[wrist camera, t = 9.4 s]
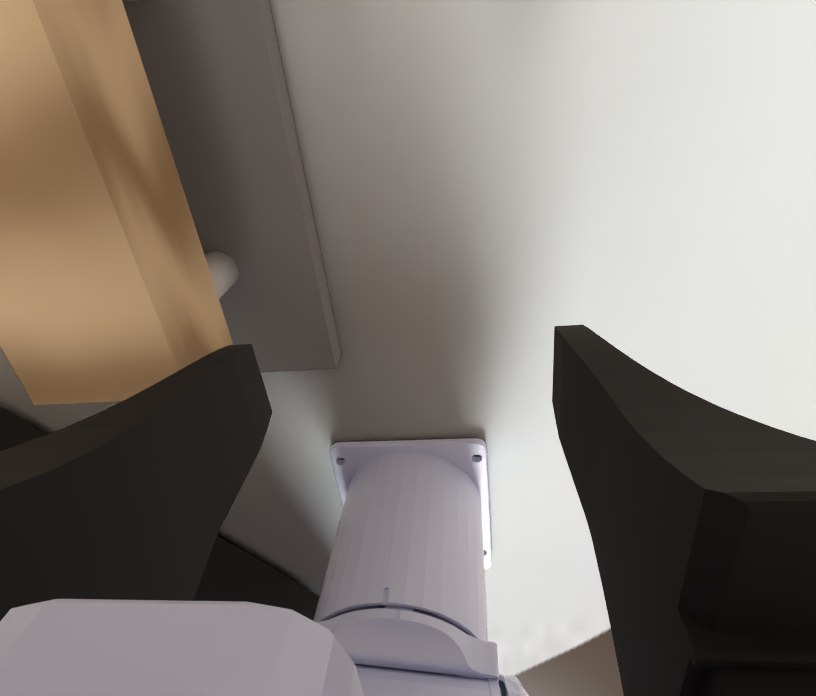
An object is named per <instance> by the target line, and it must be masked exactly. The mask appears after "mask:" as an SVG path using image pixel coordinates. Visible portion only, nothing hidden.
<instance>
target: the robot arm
mask: <svg viewBox="0 0 816 696" xmlns="http://www.w3.org/2000/svg"><path fill="white" fill-rule="evenodd" d="M552 402H553V408H554V413H555V419H556V424H557V429H558V434H559V439H560V442H561V445H562V448H563V451H564V454H565V457H566V460H567V463H568V466H569V469H570V472H571V475H572V478H573V481H574V484H575V486H576V489H577V492H578V495H579V498H580V501H581V504H582V507H583V510H584V513H585V516H586V519H587V522H588V526H589V529H590V533H591V536H592V541H593V545H594V550H595V554H596V559H597V563H598V568H599V572H600V577H601V581H602V586H603V591H604V596H605V601H606V606H607V611H608V615H609V620H610V625H611V630H612V635H613V640H614V646H615V651H616V656H617V661H618V666H619V672H620V677H621V682H622V688H623V693H624V696H816V441H814V440H810V439H807V438H804V437H800V436H797V435H794V434H791V433H788V432H785V431H782V430H779V429H776V428H773V427H770V426H767V425H765V424H762V423H759V422H757V421H754V420H751V419H749V418H746V417H744V416H741V415H738V414H736V413H733V412H731V411H728V410H726V409H724V408H721V407H719V406H717V405H715V404H712V403H710V402H708V401H706V400H704V399H702V398H700V397H698V396H696V395H693V394H691V393H689V392H687V391H685V390H683V389H681V388H680V387H678V386H676V385H674V384H672V383H670V382H669V381H667V380H665V379H664V378H662V377H660V376H658V375H657V374H655V373H653V372H652V371H650V370H648V369H647V368H645V367H644V366H642V365H640V364H639V363H637V362H636V361H634V360H633V359H631V358H630V357H628V356H627V355H625V354H624V353H622V352H621V351H620V350H618V349H617V348H615V347H614V346H612V345H611V344H610V343H608V342H607V341H606V340H604V339H603V338H601V337H600V336H599V335H597V334H596V333H594V332H593V331H592V330H590V329H589V328H587V327H586V326H584V325H571V326H555V332H554V364H553V396H552ZM271 414H272V410H271V406H270V403H269V400H268V396H267V393H266V390H265V386H264V383H263V380H262V376H261V373H260V370H259V366H258V363H257V360H256V356H255V353H254V350H253V346H252V344H242V345H228V346H225V347H223V348H220V349H218V350H216V351H214V352H212V353H210V354H208V355H206V356H204V357H202V358H200V359H199V360H197V361H195V362H193V363H191V364H190V365H188V366H186V367H184V368H182V369H181V370H179V371H177V372H175V373H174V374H172V375H170V376H168V377H167V378H165V379H163V380H161V381H159V382H158V383H156V384H154V385H152V386H150V387H148V388H146V389H145V390H143V391H141V392H139V393H137V394H135V395H133V396H131V397H129V398H128V399H126V400H124V401H122V402H120V403H118V404H116V405H114V406H112V407H110V408H108V409H106V410H104V411H102V412H99V413H97V414H95V415H93V416H91V417H88V418H86V419H84V420H82V421H79V422H77V423H75V424H72V425H70V426H68V427H65V428H63V429H60V430H58V431H55V432H52V433H50V434H47V435H44V436H42V437H39V438H36V439H34V440H31V441H28V442H26V443H23V444H20V445H17V446H15V447H12V448H9V449H6V450H3V451H0V696H529V695H528V694H527V692H526V691H525V690H524V689H523V687H522V685H521V683H520V681H519V680H518V679H517V678H516V677H515V676H511V675H499V673H498V657H497V644H496V643H494V642H490V641H488V634H487V613H486V591H485V569H488V568H490V567H491V566H492V553H491V532H490V512H489V491H488V471H487V450H486V443H485V442H484V441H483V440H481V439H477V438H469V439H434V440H400V441H366V442H338V443H335V444H333V445H332V447H331V449H330V456H331V460H332V464H333V468H334V473H335V477H336V481H337V485H338V489H339V493H340V497H341V501H342V505H343V511H342V515H341V519H340V522H339V526H338V530H337V534H336V537H335V541H334V545H333V549H332V552H331V556H330V560H329V564H328V568H327V571H326V575H325V579H324V583H323V586H322V590H321V594H320V598H319V601H318V605H317V609H316V613H315V617H314V620H313V621H312V620H310V619H309V618H307V617H305V616H303V615H301V614H299V613H297V612H296V611H294V610H291V609H285V608H280V607H274V606H269V605H263V604H258V603H252V602H233V601H194V598H195V595H196V592H197V589H198V586H199V583H200V580H201V577H202V574H203V572H204V569H205V566H206V564H207V561H208V558H209V556H210V553H211V550H212V548H213V545H214V542H215V540H216V537H217V535H218V533H219V531H220V528H221V526H222V524H223V522H224V520H225V518H226V516H227V514H228V512H229V510H230V508H231V506H232V504H233V502H234V500H235V498H236V496H237V494H238V492H239V490H240V488H241V486H242V484H243V482H244V480H245V478H246V476H247V474H248V472H249V470H250V468H251V466H252V464H253V462H254V460H255V458H256V456H257V454H258V452H259V450H260V448H261V446H262V443H263V440H264V437H265V434H266V431H267V428H268V424H269V421H270V418H271ZM476 454H478V455H480V457H474V456H473V455H476ZM339 458H343V459H345V460H340V459H339Z"/></svg>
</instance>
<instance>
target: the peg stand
mask: <svg viewBox="0 0 816 696" xmlns="http://www.w3.org/2000/svg"><path fill="white" fill-rule="evenodd" d="M122 2H123V5H124V8H125V11H126V14H127V17H128V20H129V23H130V26H131V30H132V33H133V36H134V39H135V42H136V45H137V48H138V51H139V54H140V57H141V60H142V64H143V67H144V70H145V73H146V76H147V79H148V82H149V85H150V88H151V91H152V94H153V98H154V101H155V104H156V107H157V110H158V113H159V116H160V119H161V122H162V125H163V129H164V132H165V135H166V138H167V141H168V144H169V147H170V150H171V153H172V156H173V159H174V163H175V166H176V169H177V172H178V175H179V178H180V181H181V184H182V187H183V190H184V193H185V197H186V200H187V203H188V206H189V209H190V212H191V215H192V218H193V221H194V224H195V227H196V231H197V234H198V237H199V240H200V243H201V246H202V249H203V252H204V255H205V258H206V261H207V265H208V268H209V271H210V274H211V277H212V280H213V283H214V286H215V289H216V292H217V295H218V299H219V302H220V305H221V308H222V311H223V314H224V317H225V320H226V323H227V326H228V329H229V333H230V336H231V339H232V342H233V345H242V344H252V346H253V350H254V353H255V356H256V360H257V363H258V366H259V370H260V372H277V371H297V370H317V369H336V368H337V365H338V363H339V360H340V358H341V350H340V345H339V340H338V335H337V330H336V325H335V320H334V315H333V311H332V306H331V301H330V296H329V291H328V286H327V281H326V276H325V271H324V266H323V262H322V257H321V252H320V247H319V242H318V237H317V232H316V227H315V222H314V217H313V213H312V208H311V203H310V198H309V193H308V188H307V183H306V178H305V173H304V168H303V164H302V159H301V154H300V149H299V144H298V139H297V134H296V129H295V124H294V119H293V115H292V110H291V105H290V100H289V95H288V90H287V85H286V80H285V75H284V70H283V66H282V61H281V56H280V51H279V46H278V41H277V36H276V31H275V26H274V21H273V17H272V12H271V7H270V2H269V0H122Z"/></svg>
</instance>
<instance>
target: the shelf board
mask: <svg viewBox="0 0 816 696" xmlns="http://www.w3.org/2000/svg"><path fill="white" fill-rule="evenodd" d="M228 345H233V342H232V339H231V336H230V333H229V329H228V326H227V323H226V320H225V317H224V314H223V311H222V308H221V305H220V302H219V299H218V295H217V292H216V289H215V286H214V283H213V280H212V277H211V274H210V271H209V268H208V265H207V261H206V258H205V255H204V252H203V249H202V246H201V243H200V240H199V237H198V234H197V231H196V227H195V224H194V221H193V218H192V215H191V212H190V209H189V206H188V203H187V200H186V197H185V193H184V190H183V187H182V184H181V181H180V178H179V175H178V172H177V169H176V166H175V163H174V159H173V156H172V153H171V150H170V147H169V144H168V141H167V138H166V135H165V132H164V129H163V125H162V122H161V119H160V116H159V113H158V110H157V107H156V104H155V101H154V98H153V94H152V91H151V88H150V85H149V82H148V79H147V76H146V73H145V70H144V67H143V64H142V60H141V57H140V54H139V51H138V48H137V45H136V42H135V39H134V36H133V33H132V30H131V26H130V23H129V20H128V17H127V14H126V11H125V8H124V5H123V2H122V0H0V347H1V349H2V351H3V353H4V354H5V356H6V358H7V359H8V361H9V363H10V365H11V366H12V368H13V370H14V372H15V373H16V375H17V377H18V378H19V380H20V382H21V384H22V385H23V387H24V389H25V391H26V392H27V394H28V396H29V397H30V399H31V401H32V403H33V404H34V405H55V404H77V403H99V402H121V401H124V400H126V399H128V398H129V397H131V396H133V395H135V394H137V393H139V392H141V391H143V390H145V389H146V388H148V387H150V386H152V385H154V384H156V383H158V382H159V381H161V380H163V379H165V378H167V377H168V376H170V375H172V374H174V373H175V372H177V371H179V370H181V369H182V368H184V367H186V366H188V365H190V364H191V363H193V362H195V361H197V360H199V359H200V358H202V357H204V356H206V355H208V354H210V353H212V352H214V351H216V350H218V349H220V348H223V347H225V346H228Z"/></svg>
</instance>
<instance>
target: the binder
mask: <svg viewBox="0 0 816 696" xmlns="http://www.w3.org/2000/svg"><path fill="white" fill-rule="evenodd" d="M44 435H47V434H45V433H44V432H42V431H40V430H39V429H37V428H35V427H34V426H32V425H30V424H28V423H27V422H25V421H23V420H22V419H20V418H18V417H17V416H15V415H13V414H12V413H10V412H8V411H7V410H5V409H3V408H2V407H0V451H3V450H6V449H9V448H12V447H15V446H17V445H20V444H23V443H26V442H28V441H31V440H34V439H36V438H39V437H42V436H44ZM319 598H320V597H319V596H318V595H316V594H314V593H313V592H311V591H309V590H308V589H306V588H304V587H303V586H301V585H299V584H297V583H296V582H294V581H292V580H291V579H289V578H287V577H286V576H284V575H282V574H281V573H279V572H277V571H276V570H274V569H272V568H271V567H269V566H267V565H266V564H264V563H262V562H260V561H259V560H257V559H255V558H254V557H252V556H250V555H249V554H247V553H245V552H244V551H242V550H240V549H239V548H237V547H235V546H234V545H232V544H230V543H229V542H227V541H225V540H223V539H222V538H220V537H218V536H217V537H216V540H215V542H214V545H213V548H212V550H211V553H210V556H209V558H208V561H207V564H206V566H205V569H204V572H203V574H202V577H201V580H200V583H199V586H198V589H197V592H196V595H195V598H194V601H233V602H252V603H258V604H263V605H269V606H274V607H280V608H285V609H291V610H294V611H296V612H297V613H299V614H301V615H303V616H305V617H307V618H309V619H310V620H312V621H313V620H314V617H315V613H316V609H317V605H318V601H319Z"/></svg>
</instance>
